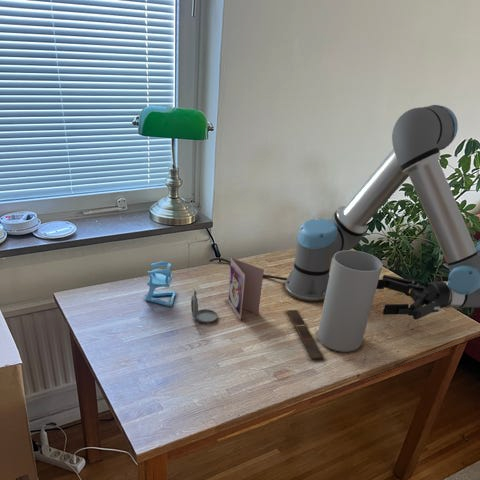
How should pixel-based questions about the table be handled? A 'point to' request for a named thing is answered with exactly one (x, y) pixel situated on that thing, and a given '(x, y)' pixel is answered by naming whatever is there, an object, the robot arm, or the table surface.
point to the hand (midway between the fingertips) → (373, 296)
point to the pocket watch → (201, 311)
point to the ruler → (305, 335)
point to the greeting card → (244, 287)
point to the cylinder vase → (348, 299)
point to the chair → (160, 283)
